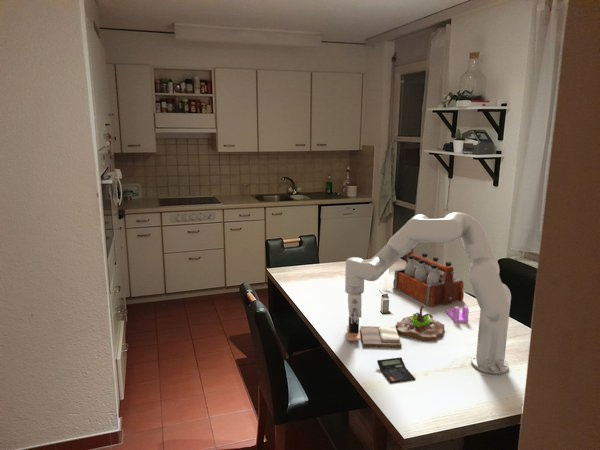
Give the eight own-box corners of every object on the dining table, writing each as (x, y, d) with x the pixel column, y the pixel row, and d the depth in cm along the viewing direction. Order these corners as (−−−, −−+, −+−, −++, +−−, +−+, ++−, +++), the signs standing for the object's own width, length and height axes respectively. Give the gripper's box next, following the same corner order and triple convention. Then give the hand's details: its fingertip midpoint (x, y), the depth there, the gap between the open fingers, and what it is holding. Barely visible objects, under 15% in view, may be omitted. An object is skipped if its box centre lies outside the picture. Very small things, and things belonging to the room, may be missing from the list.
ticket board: (401, 347, 181) (401, 341, 180) (363, 346, 182) (363, 340, 181) (395, 330, 197) (395, 324, 196) (360, 329, 198) (360, 323, 197)
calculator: (390, 384, 156) (390, 376, 156) (376, 367, 167) (377, 359, 167) (415, 380, 158) (415, 372, 158) (400, 364, 170) (400, 356, 169)
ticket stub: (360, 340, 184) (361, 324, 182) (348, 340, 184) (348, 324, 182) (358, 327, 195) (358, 312, 194) (346, 327, 196) (347, 312, 194)
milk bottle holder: (421, 281, 259) (422, 248, 255) (466, 302, 228) (469, 265, 224) (390, 286, 250) (391, 252, 246) (433, 309, 219) (435, 270, 215)
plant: (450, 327, 200) (451, 303, 197) (436, 345, 184) (438, 319, 181) (406, 317, 211) (407, 294, 208) (389, 333, 195) (390, 308, 192)
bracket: (467, 322, 204) (469, 308, 203) (455, 323, 204) (456, 308, 202) (457, 311, 217) (458, 297, 215) (445, 311, 217) (446, 297, 215)
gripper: (365, 296, 177) (364, 337, 180) (362, 281, 194) (361, 319, 197) (346, 295, 177) (345, 336, 181) (344, 280, 194) (343, 318, 198)
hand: (353, 327), depth 189 cm, fingers open, 9 cm apart
